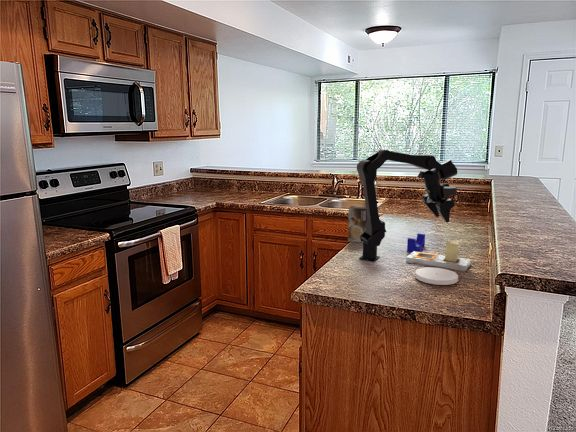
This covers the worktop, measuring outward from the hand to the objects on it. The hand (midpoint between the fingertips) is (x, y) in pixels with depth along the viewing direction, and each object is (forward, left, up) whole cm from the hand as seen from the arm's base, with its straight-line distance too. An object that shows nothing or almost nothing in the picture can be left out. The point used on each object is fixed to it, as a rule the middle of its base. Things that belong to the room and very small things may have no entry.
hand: (442, 219), depth 178 cm
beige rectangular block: (-14, -7, -15) cm, 21 cm away
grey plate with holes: (-14, -2, -15) cm, 20 cm away
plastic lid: (-34, -6, -15) cm, 38 cm away
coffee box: (+3, +38, -15) cm, 41 cm away
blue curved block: (+2, +10, -15) cm, 18 cm away
